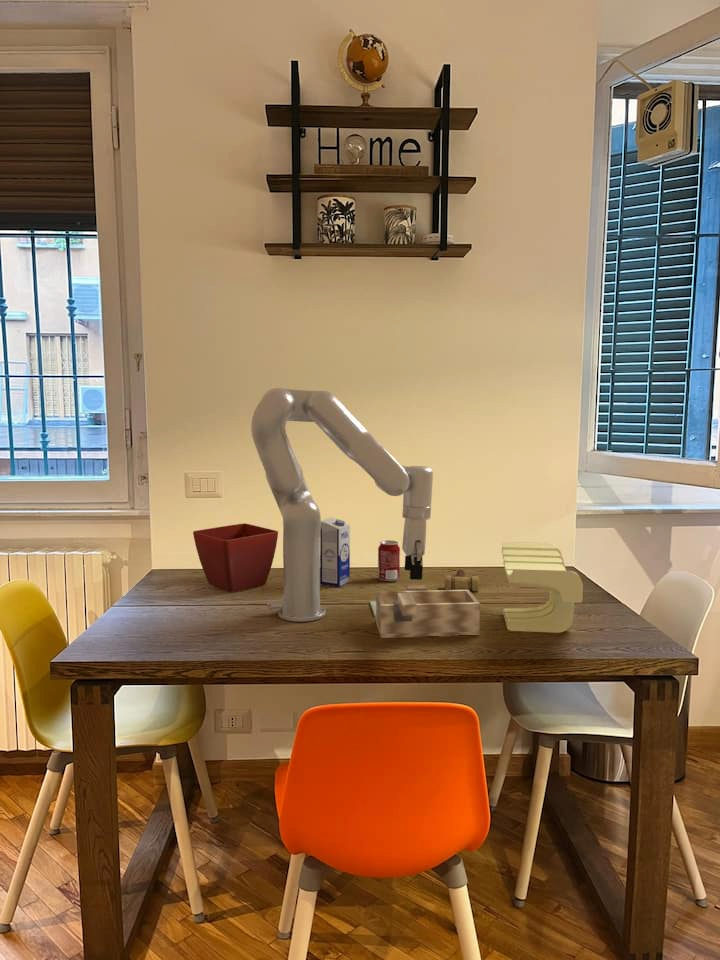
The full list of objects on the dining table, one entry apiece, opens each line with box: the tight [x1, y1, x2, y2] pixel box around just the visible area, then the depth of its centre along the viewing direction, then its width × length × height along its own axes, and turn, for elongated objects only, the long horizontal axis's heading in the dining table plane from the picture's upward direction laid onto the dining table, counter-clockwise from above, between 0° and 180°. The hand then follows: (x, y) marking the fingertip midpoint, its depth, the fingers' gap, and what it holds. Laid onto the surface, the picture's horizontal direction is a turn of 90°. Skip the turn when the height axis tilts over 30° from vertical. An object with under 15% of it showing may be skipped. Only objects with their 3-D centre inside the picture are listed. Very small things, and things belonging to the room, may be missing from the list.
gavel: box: [443, 569, 480, 592], centre depth 219 cm, size 21×5×10 cm
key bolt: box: [398, 593, 416, 616], centre depth 161 cm, size 3×9×2 cm, turn 4°
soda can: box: [377, 539, 401, 582], centre depth 221 cm, size 7×7×12 cm
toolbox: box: [375, 589, 481, 639], centre depth 175 cm, size 24×15×9 cm, turn 94°
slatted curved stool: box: [501, 541, 584, 634], centre depth 180 cm, size 30×16×18 cm, turn 174°
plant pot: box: [192, 522, 279, 593], centre depth 214 cm, size 19×19×17 cm
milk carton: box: [320, 517, 351, 588], centre depth 217 cm, size 7×7×20 cm
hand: (413, 574), depth 191 cm, fingers open, 9 cm apart
